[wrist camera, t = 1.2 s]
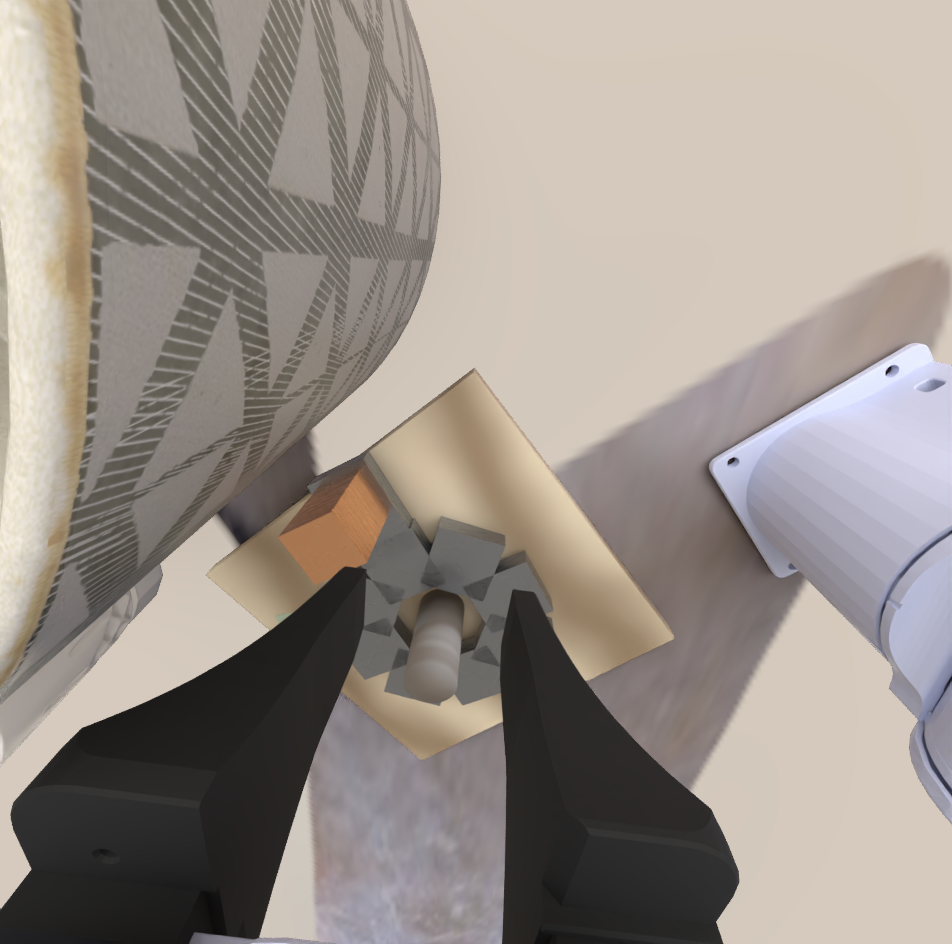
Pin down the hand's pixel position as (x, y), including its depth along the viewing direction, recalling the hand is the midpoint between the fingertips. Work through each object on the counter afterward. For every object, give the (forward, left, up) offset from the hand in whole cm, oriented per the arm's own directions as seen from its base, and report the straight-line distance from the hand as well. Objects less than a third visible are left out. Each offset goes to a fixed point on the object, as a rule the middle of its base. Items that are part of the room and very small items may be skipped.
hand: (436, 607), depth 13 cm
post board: (+6, +6, -10) cm, 13 cm away
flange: (+5, +4, -9) cm, 11 cm away
